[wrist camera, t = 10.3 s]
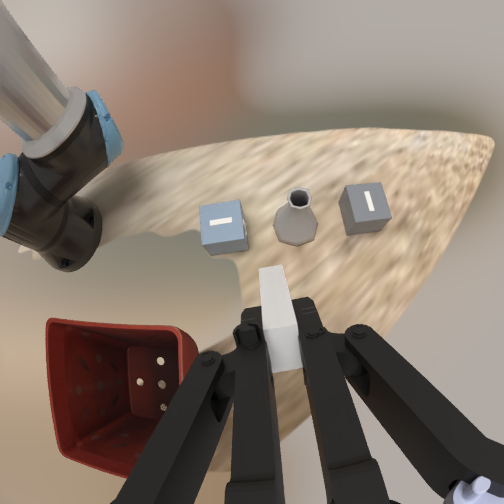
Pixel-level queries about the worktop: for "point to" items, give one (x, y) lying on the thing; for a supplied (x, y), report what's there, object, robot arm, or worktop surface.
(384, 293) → the worktop surface
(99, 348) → the plant pot
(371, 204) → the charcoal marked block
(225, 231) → the slate-blue marked block
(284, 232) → the flask
